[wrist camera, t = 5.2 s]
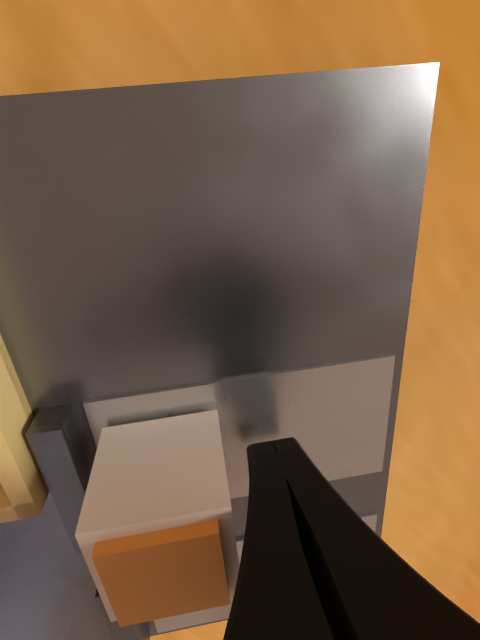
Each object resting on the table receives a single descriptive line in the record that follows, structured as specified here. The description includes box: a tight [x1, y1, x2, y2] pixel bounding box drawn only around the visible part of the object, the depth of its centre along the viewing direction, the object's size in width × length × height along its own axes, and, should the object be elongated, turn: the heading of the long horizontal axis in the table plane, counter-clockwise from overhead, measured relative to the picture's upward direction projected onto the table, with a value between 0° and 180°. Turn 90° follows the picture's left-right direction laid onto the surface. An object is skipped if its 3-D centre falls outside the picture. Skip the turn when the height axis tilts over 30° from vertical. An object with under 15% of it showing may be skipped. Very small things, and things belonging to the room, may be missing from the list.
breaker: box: [75, 410, 239, 627], centre depth 9 cm, size 3×3×3 cm
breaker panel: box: [0, 62, 440, 640], centre depth 11 cm, size 18×22×3 cm
